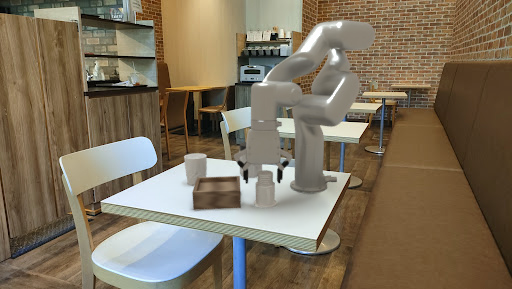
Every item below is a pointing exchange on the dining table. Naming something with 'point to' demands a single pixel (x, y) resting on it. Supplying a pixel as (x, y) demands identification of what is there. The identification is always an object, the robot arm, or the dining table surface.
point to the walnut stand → (217, 193)
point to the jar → (253, 168)
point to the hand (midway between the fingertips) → (262, 182)
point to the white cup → (195, 167)
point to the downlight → (265, 190)
